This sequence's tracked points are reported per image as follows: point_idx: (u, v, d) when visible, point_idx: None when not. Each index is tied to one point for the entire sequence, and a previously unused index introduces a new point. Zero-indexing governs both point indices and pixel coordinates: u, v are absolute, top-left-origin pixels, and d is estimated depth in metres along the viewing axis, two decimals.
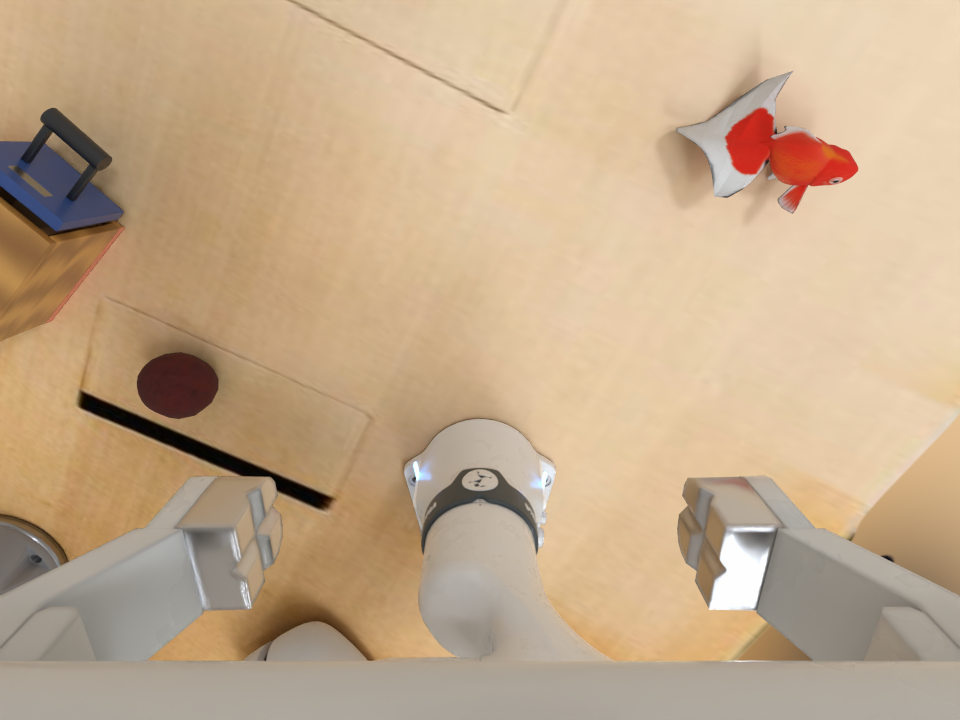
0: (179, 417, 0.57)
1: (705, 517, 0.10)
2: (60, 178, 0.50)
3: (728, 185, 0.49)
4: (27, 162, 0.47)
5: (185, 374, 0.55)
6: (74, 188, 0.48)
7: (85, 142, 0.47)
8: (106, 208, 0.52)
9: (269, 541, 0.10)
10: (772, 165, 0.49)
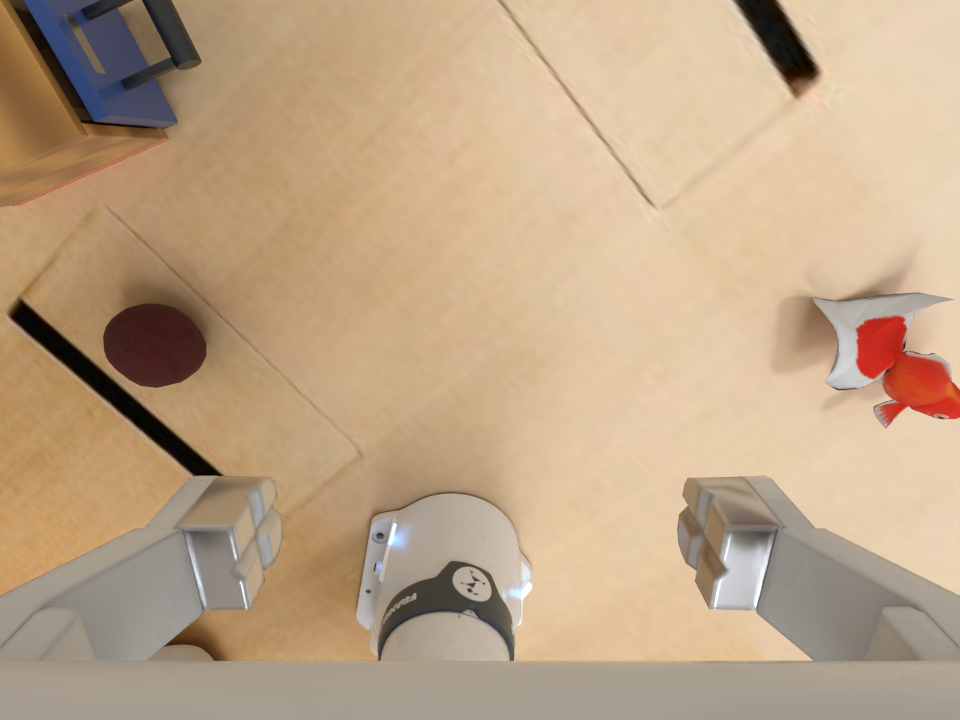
0: (143, 385, 0.46)
1: (705, 517, 0.10)
2: (119, 54, 0.38)
3: (843, 379, 0.46)
4: (88, 18, 0.35)
5: (175, 341, 0.44)
6: (136, 76, 0.37)
7: (178, 30, 0.35)
8: (160, 111, 0.40)
9: (269, 541, 0.10)
10: (889, 376, 0.46)
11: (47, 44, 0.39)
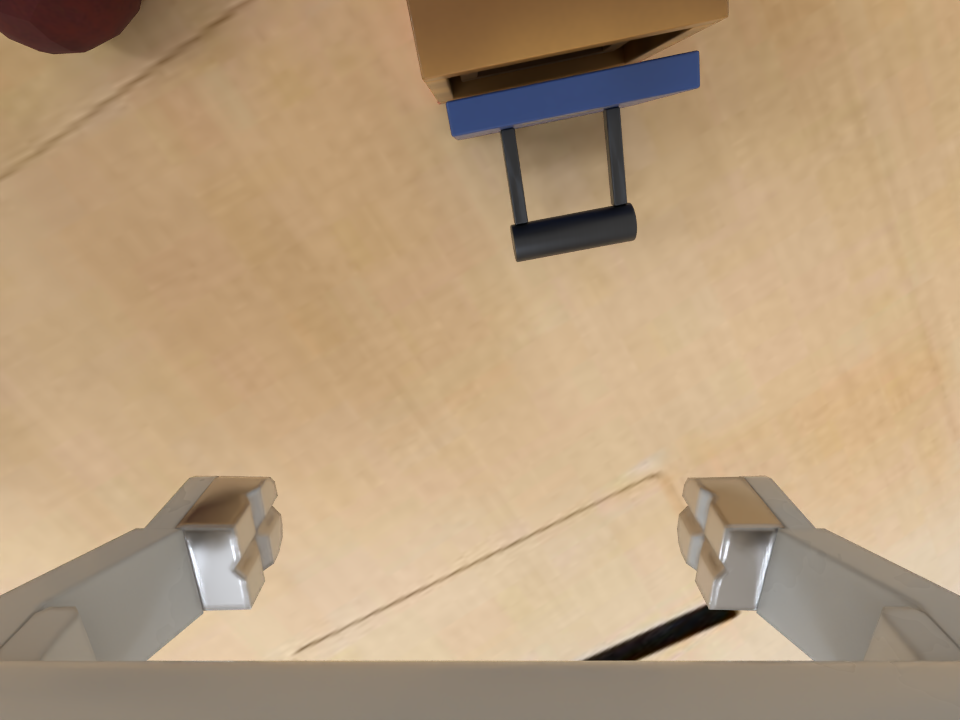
0: None
1: (705, 517, 0.10)
2: (554, 119, 0.24)
3: None
4: (605, 111, 0.22)
5: (40, 25, 0.21)
6: (514, 158, 0.23)
7: (557, 252, 0.24)
8: None
9: (269, 541, 0.10)
10: None
11: None
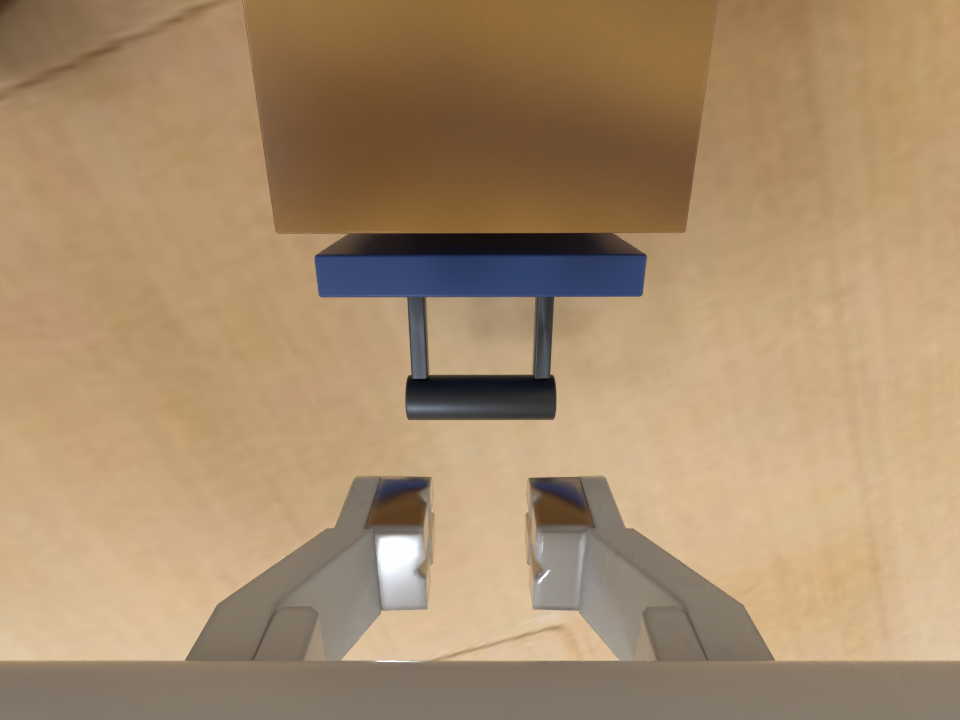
0: None
1: None
2: None
3: None
4: None
5: None
6: (419, 305, 0.18)
7: (457, 419, 0.20)
8: None
9: (430, 541, 0.10)
10: None
11: None
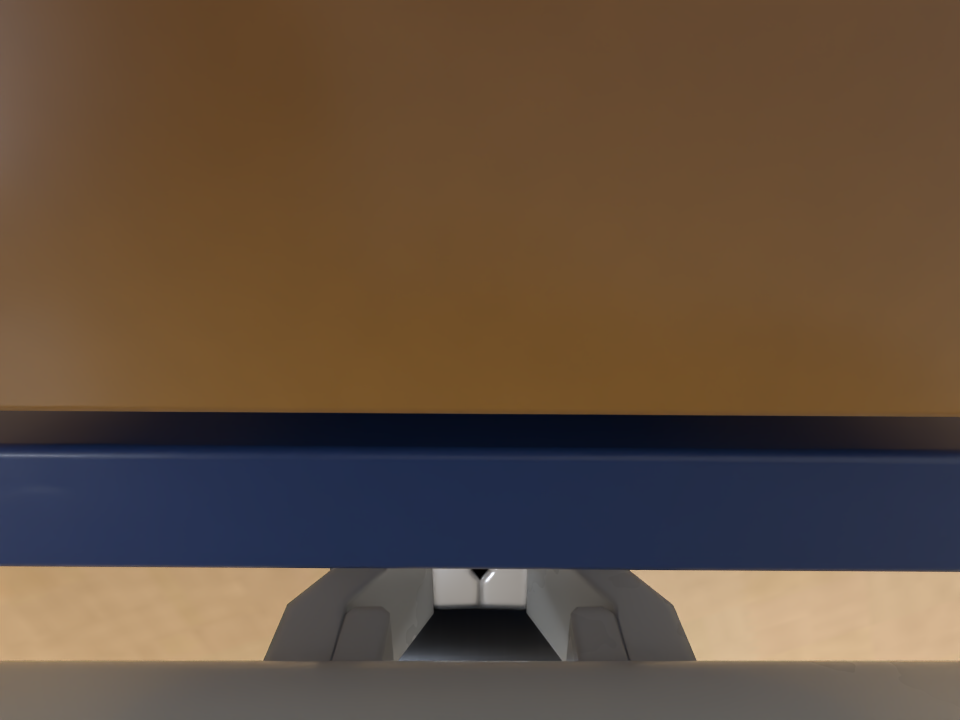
0: None
1: None
2: None
3: None
4: None
5: None
6: None
7: None
8: None
9: None
10: None
11: None
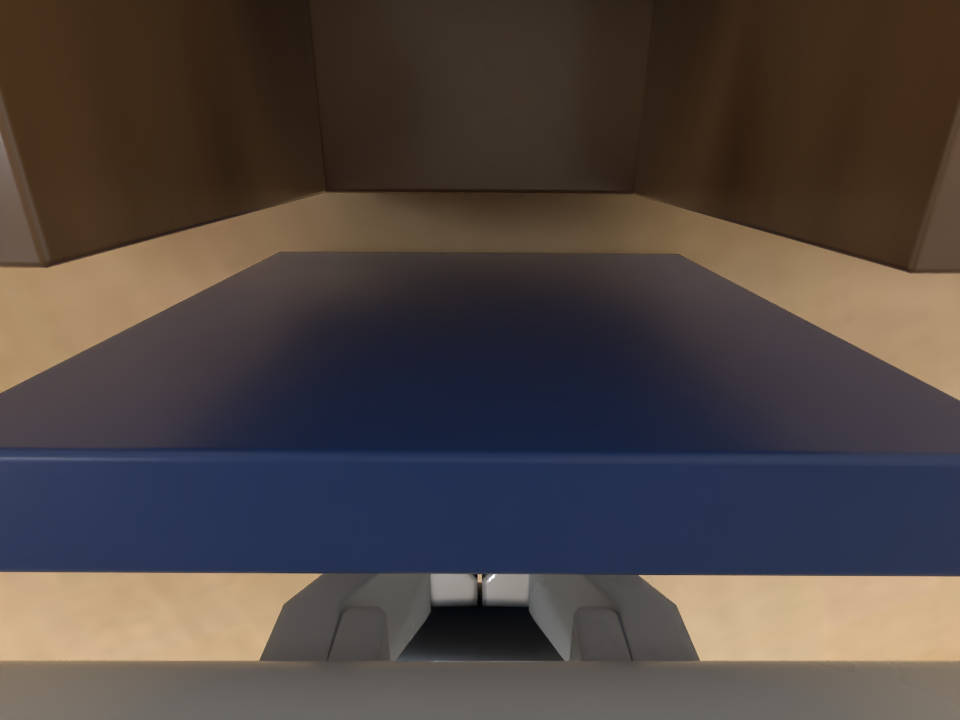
0: None
1: None
2: None
3: None
4: None
5: None
6: None
7: None
8: None
9: None
10: None
11: (659, 17, 0.09)
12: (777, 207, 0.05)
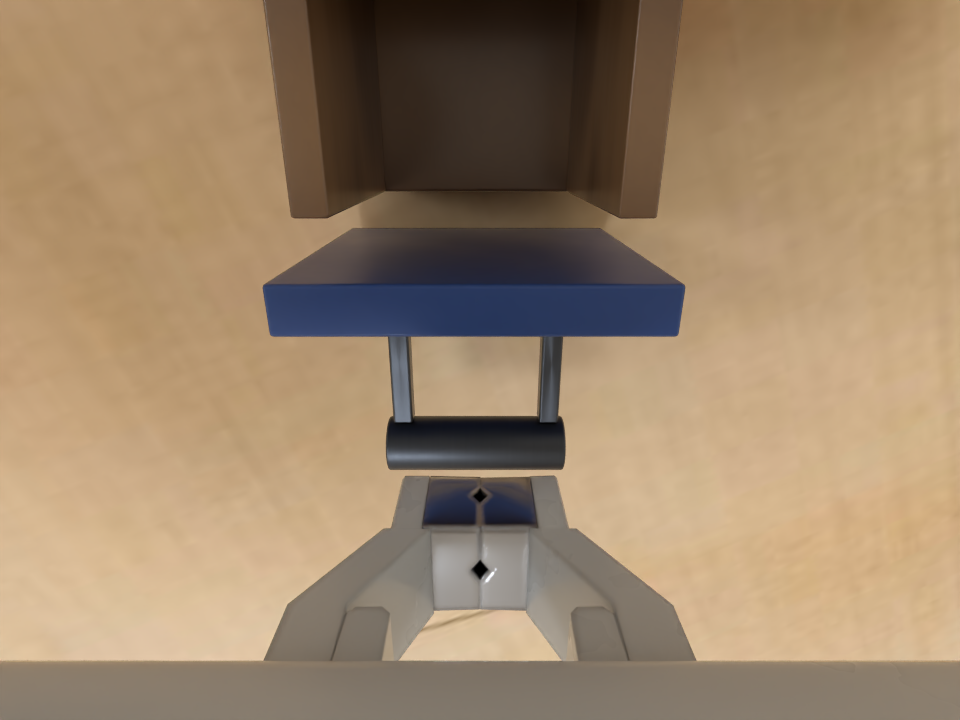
0: None
1: None
2: None
3: None
4: None
5: None
6: (401, 337, 0.15)
7: (448, 469, 0.17)
8: None
9: None
10: None
11: (574, 93, 0.16)
12: (600, 197, 0.13)
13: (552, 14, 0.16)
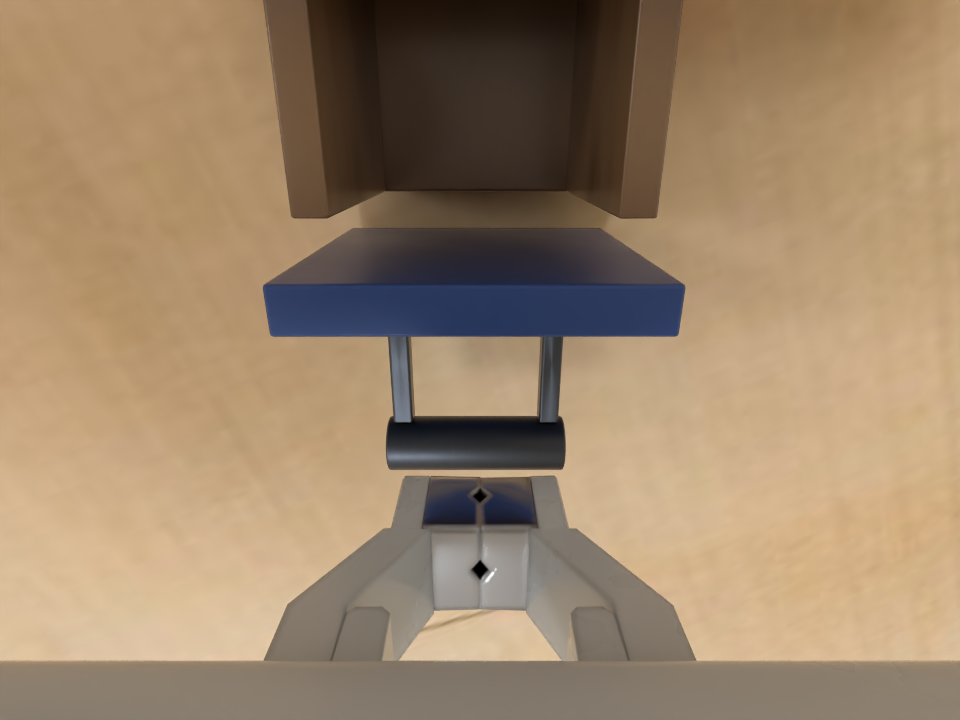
0: None
1: None
2: None
3: None
4: None
5: None
6: (401, 337, 0.15)
7: (448, 469, 0.17)
8: None
9: None
10: None
11: (574, 93, 0.16)
12: (600, 197, 0.13)
13: (552, 14, 0.16)
